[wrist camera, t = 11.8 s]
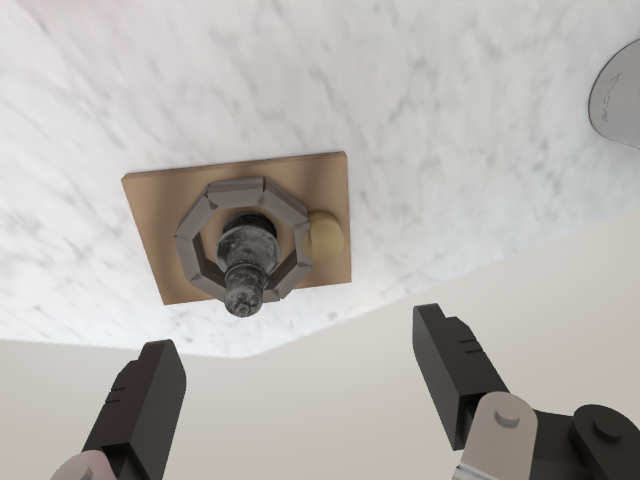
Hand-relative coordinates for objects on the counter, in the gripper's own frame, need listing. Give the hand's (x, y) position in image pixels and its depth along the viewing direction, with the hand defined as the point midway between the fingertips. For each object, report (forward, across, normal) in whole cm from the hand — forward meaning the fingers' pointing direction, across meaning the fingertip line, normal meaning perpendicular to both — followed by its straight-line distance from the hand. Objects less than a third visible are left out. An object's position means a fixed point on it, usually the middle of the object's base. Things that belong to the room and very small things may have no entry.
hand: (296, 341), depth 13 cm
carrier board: (+26, +5, +8) cm, 27 cm away
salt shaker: (+24, +5, +8) cm, 26 cm away
